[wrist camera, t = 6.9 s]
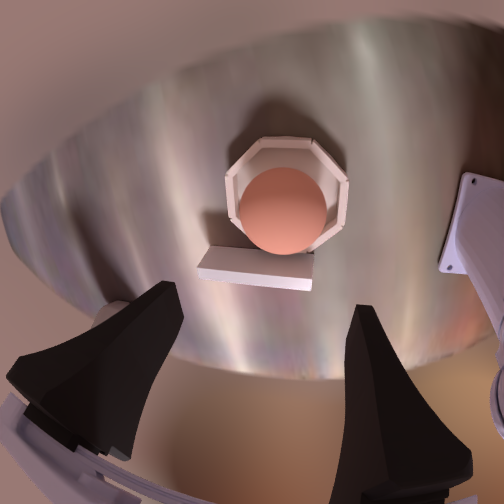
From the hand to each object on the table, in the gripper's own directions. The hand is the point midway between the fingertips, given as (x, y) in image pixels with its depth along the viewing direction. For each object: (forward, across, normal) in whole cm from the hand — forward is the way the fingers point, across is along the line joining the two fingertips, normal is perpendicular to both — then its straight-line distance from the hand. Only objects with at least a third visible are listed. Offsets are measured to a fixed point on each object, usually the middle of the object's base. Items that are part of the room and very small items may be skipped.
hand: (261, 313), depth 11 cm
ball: (+10, 0, -1) cm, 10 cm away
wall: (+10, +2, +4) cm, 11 cm away
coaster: (+10, 0, -1) cm, 10 cm away
